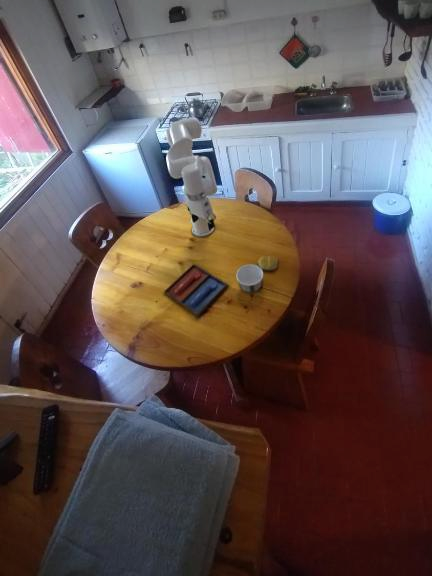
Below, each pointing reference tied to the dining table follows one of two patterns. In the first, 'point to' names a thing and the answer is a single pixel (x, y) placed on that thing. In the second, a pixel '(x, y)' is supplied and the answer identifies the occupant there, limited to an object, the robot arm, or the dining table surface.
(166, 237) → the dining table surface
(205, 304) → the sorting tray
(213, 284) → the blue spoon
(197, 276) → the red spoon
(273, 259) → the bread roll
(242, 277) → the food container
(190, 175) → the robot arm
